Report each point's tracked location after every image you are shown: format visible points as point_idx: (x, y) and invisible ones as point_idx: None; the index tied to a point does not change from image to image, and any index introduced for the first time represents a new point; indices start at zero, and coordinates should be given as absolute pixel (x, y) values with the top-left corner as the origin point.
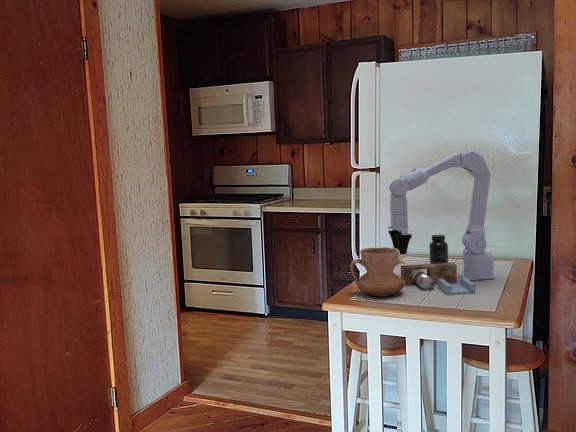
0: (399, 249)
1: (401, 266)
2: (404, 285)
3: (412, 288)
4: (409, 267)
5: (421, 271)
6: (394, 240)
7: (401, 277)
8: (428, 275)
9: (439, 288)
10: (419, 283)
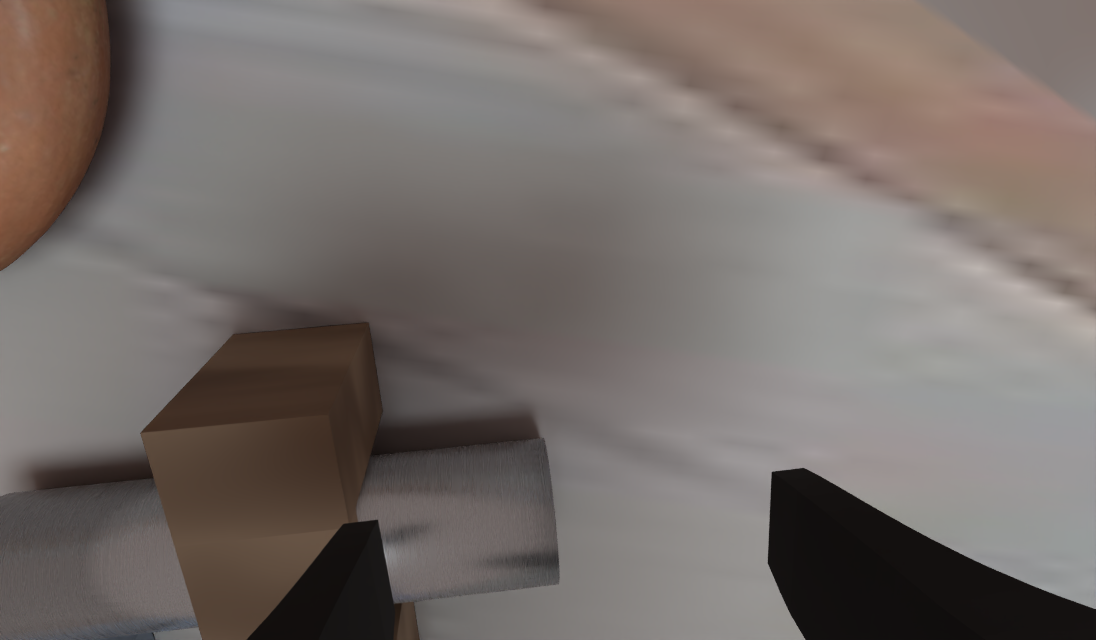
0: (299, 581)
1: (278, 418)
2: (231, 338)
3: (112, 399)
4: (188, 512)
5: None
6: (900, 618)
7: (332, 349)
8: None
9: None
10: (58, 495)
